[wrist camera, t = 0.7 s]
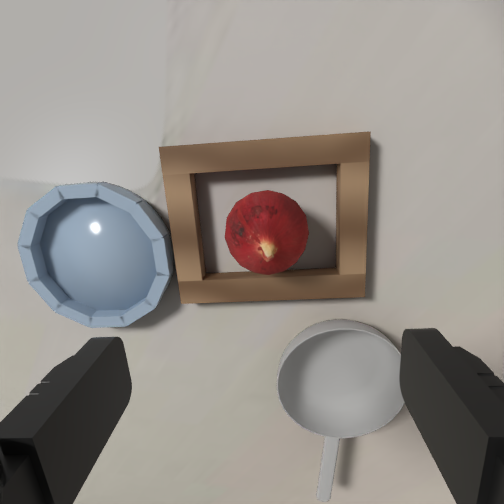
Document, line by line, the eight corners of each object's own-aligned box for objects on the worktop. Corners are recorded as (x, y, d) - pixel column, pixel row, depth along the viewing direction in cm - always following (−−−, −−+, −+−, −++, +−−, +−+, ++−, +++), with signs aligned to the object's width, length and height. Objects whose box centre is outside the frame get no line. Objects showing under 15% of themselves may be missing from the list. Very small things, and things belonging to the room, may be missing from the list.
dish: (20, 186, 27) (1, 189, 25) (163, 177, 26) (154, 179, 25) (55, 318, 31) (41, 329, 29) (182, 313, 30) (176, 324, 28)
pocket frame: (165, 147, 26) (158, 147, 24) (364, 132, 25) (370, 131, 23) (185, 295, 29) (181, 303, 28) (359, 289, 28) (364, 297, 27)
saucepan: (405, 313, 29) (425, 337, 25) (370, 470, 34) (381, 508, 31) (281, 302, 29) (283, 324, 26) (265, 459, 35) (264, 496, 31)
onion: (218, 232, 28) (198, 264, 20) (255, 170, 26) (247, 180, 18) (278, 267, 28) (280, 312, 21) (317, 210, 26) (336, 235, 19)
